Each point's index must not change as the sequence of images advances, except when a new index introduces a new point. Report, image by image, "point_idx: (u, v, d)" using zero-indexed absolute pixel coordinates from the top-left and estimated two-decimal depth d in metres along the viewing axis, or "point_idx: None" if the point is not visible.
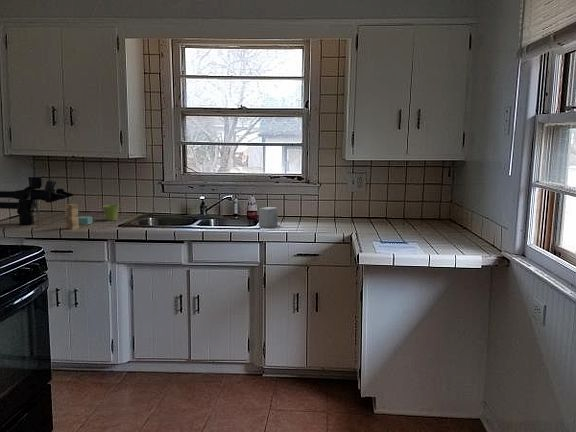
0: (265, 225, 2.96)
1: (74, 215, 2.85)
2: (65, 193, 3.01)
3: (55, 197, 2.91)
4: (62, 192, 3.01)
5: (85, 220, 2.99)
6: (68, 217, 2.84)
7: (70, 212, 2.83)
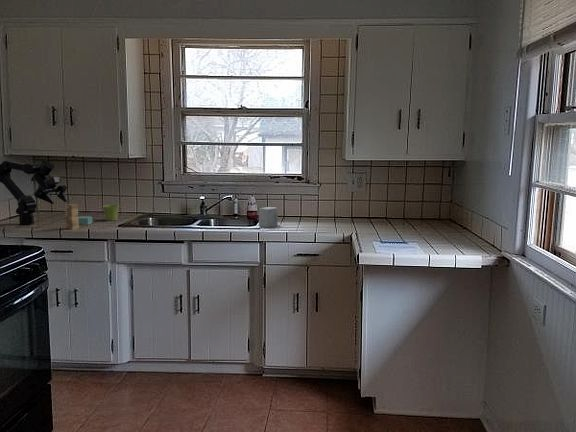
0: (265, 225, 2.96)
1: (74, 215, 2.85)
2: (62, 195, 2.93)
3: (45, 197, 2.83)
4: (61, 192, 2.93)
5: (86, 220, 2.99)
6: (68, 217, 2.84)
7: (70, 212, 2.83)
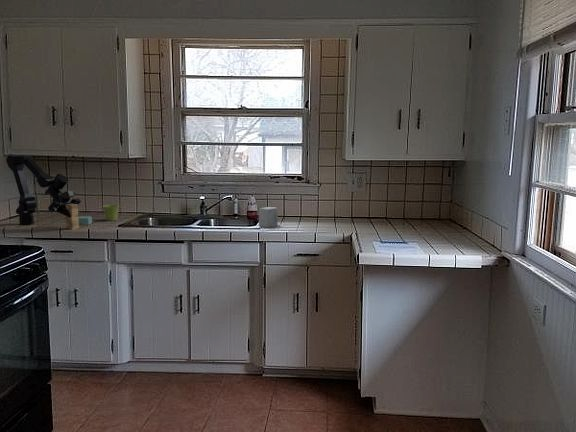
0: (265, 225, 2.96)
1: (74, 215, 2.85)
2: None
3: (62, 210, 2.83)
4: None
5: (86, 220, 2.99)
6: (68, 217, 2.84)
7: (70, 212, 2.83)
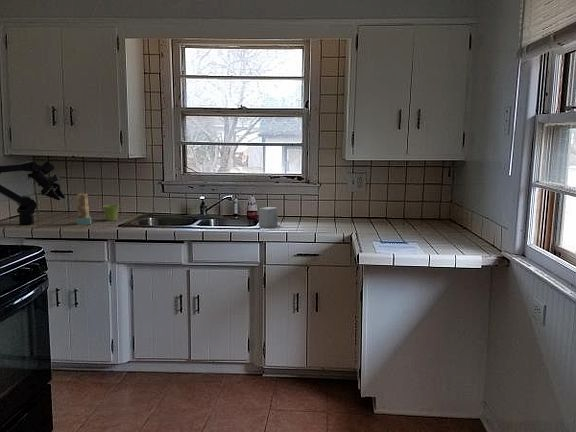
0: (265, 225, 2.96)
1: (86, 204, 3.00)
2: (59, 192, 3.09)
3: (50, 194, 2.98)
4: (57, 189, 3.09)
5: (88, 220, 3.00)
6: (80, 207, 2.99)
7: (83, 202, 2.98)
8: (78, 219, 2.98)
